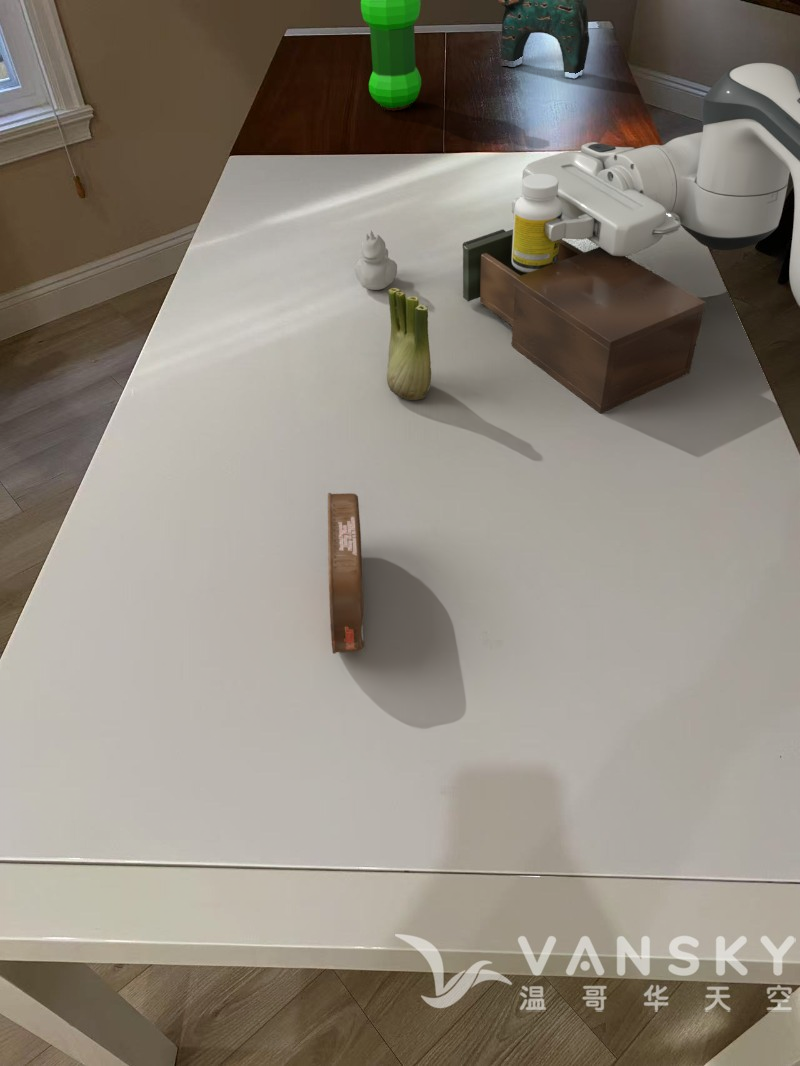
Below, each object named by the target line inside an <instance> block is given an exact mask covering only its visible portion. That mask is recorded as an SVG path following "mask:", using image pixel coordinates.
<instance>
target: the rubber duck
mask: <svg viewBox="0 0 800 1066" xmlns="http://www.w3.org/2000/svg"><path fill="white" fill-rule="evenodd" d="M376 235H377V236H375V234H374V233H373V231H372V229H370V231H369V234H368V233H366V234H365V237H364V239H363V241H362V243H361V246H360V247H361V257H360V258H359V259H358V260H357V261H356V263H355V265H354V272H355V276H356V278H357V280H358V281H359V284H360V286H361V287H363V288H365V289H368V290H372V291H379V290H383V289H386V288H387V287H388V286H389V285H390V284H392V283H393V281H394V280H395V279H396V277H397V274H398V264H397V262H396V261H395V260H394V259H391V258H390V257H389V250H388V248H387V245H386V242H385V240H384V239H383V238H382V237H381V236H380V235H379V234H376Z"/></svg>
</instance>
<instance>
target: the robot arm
mask: <svg viewBox="0 0 800 1066" xmlns="http://www.w3.org/2000/svg"><path fill="white" fill-rule="evenodd" d="M701 124H702V126H703V127H702V131H700V132H695V133H689V134H686V135H681V136H678V137H674V138H672V139H670V140H669V141H668V142H666V143H665V144H661V145H660V144H651V145H650V144H649V145H645V146H642V147H638V148H635V147H631V146H626V147H625V146H624V147H621V146H614V145H609V144H605V143H600V142H597V141H592V142H587V143H584V144H582V145H581V147H580V151H575V150H571V151H564V152H560V153H556V154H553V155H550V156H547V157H546V156H545V157H543V158H540V159H537V160H534V161H532V162H530V163H528V164H527V165H526V166H525V167H524V168H523V170H522V177H521V178H522V179H521V181H522V180H523V179H524V178H525V177H527V176H529V175H533V174H548V175H552V176H554V177H556V178H557V179H558V181H559V184H558V193H557V196H556V197H557V198H559V199H560V201H561V203H562V219H561V220H560V219H559V218H556V219H553V220H550V221H547V222H546V223H545V225H544V229H545V231H544V235H545V236H546V237H547V238H549V239H550V240H551V241H557V240H560V239H562V240H564V239H565V240H586V239H587V240H588V241H590V242H591V243H593V244H594V245H596V246H597V247H600V248H602V249H603V250H605V251H606V252H608V253H609V254H611V255H613V256H625V257H628V256H630V255H633V254H635V253H638V252H641V251H644V250H645V249H648V248H649V247H652V246H654V245H656V244H657V243H659V242H660V241H661V240H662V238H663V236H667V235H670V234H673V233H676V232H677V231H679V229H680V228H681V227H682V228H683V230H684V231H686V232H687V234H689V235H690V236H691V237H693V238H694V239H695V240H696V241H697V242H698V243H700V244H701V245H702V246H704V247H707V248H710V249H713V250H717V251H733V250H739V249H743V248H747V247H750V246H753V245H754V244H757V243H759V242H761V241H762V240H765V239H766V238H768V237H769V236H770V235H771V234H773V233H774V232H775V231H776V230H777V229H778V228H779V224H780V220H781V219H782V218H781V217H782V213H783V210H784V209H783V208H784V205H785V201H786V195H787V189H788V185H789V179H790V175H791V178H792V184H793V193H794V207H793V208H794V209H793V211H794V212H793V226H792V227H793V228H792V237H791V239H792V240H791V247H790V258H789V271H788V272H789V273H788V274H789V275H788V276H789V277H788V278H789V285H790V290H791V293H792V295H793V298H794V299H795V302H796V304H797V305H798V307H799V308H800V76H799V74H797V73H796V72H795V71H794V70H793V69H790V68H789V67H786V66H784V65H781V64H780V65H779V64H775V63H770V62H753V63H744V64H740V65H737V66H734V67H732V68H730V69H729V70H727V72H725V73H724V74H723V75H722V76H721V77H720V78H719V79H718V80H717V81H716V82H715V83H714V84H713V86H712V87H711V88H710V89H709V90H708V91H707V93H705V95H704V97H703V107H702V123H701ZM519 198H520V197H517V198H514V199H513V200H512V201H511V214H513V215H514V207H515V203H516V201H517V200H518V199H519Z"/></svg>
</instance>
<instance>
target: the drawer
mask: <svg viewBox="0 0 800 1066" xmlns="http://www.w3.org/2000/svg"><path fill="white" fill-rule="evenodd" d="M512 242H513V228H511V229H509V230H507V231H506V230H505V229H500V230H496V231H494V232H490V233H488V234H485V235H482V236H478V237H476V238H473V239H470V240H467V241H464V242H463V243H462V298H463V299H464V300H465V301H467V302H471V301H473V300H477V299H479V303H481V304H482V305H483V306H485V307H486V308H487V309H489V310H490V311H492V312H493V313H495V315H497V316H498V317H500V318H501V319H503V320H504V321H505V322H507V323H508V324H509V325H511V326H512V327H513V310H514V289H515V278H516V277H519V276H521V275H524V274H527V273H525V272H522V271H519V270H518V269H516V268H515V267H514V266H513V264H512ZM584 252H585V251H583V250H581V249H579V248H578V247H577V246H574V245H573V244H572V243H569V242H568V241H566V240H564V239H560V241H559V252H558V261H557V262H560V261H562V260H565V259H568V258H571V257H573V256H576V255H579V254H582V253H584Z"/></svg>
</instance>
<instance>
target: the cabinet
mask: <svg viewBox="0 0 800 1066" xmlns="http://www.w3.org/2000/svg"><path fill="white" fill-rule="evenodd" d="M583 252H584V253H582V254H579V255H576V256H573V257H571V258H568V259H565V260H562V261H560V262H557V263H554V264H552V265H549V266H546V267H543V268H541V269H538V270H535V271H532V272H530V273H527V274H524V275H521V276H519V277H516V278H515V289H514V310H513V326H512V331H511V332H512V333H511V347H512V348H513V349H515V350H516V351H517V352H519V353H520V354H521V355H523V356H524V357H525V358H527V359H528V360H529V361H530V362H532V363H533V364H534V365H536V366H537V367H538V368H540V369H541V370H542V371H544V373H546V374H548V375H549V376H550V377H552V378H553V379H554V380H556V382H558V383H559V384H561V385H562V386H563V387H564V388H566V389H567V390H568V391H570V392H571V393H572V394H573V395H575V396H577V397H578V398H579V399H580V400H582V401H583V402H584V403H586V404H587V405H588V406H590V408H592V409H593V410H595V411H596V412H597V413H599V414H602V413H604V412H606V411H609V410H611V409H613V408H616V407H618V406H619V405H622V404H625V403H627V402H629V401H631V400H633V399H636V398H637V397H640V396H642V395H645V394H646V393H649V392H651V391H653V390H656V389H658V388H660V387H662V386H664V385H666V384H668V383H672V382H674V381H675V380H678V379H680V378H682V377H685V376H687V375H689V374H690V373H691V368H692V364H693V360H694V356H695V352H696V348H697V344H698V338H699V334H700V329H701V326H702V323H703V322H702V321H703V317H704V312H705V309H706V306H707V305H706V304H707V302H706V301H705V300H703V299H701V298H699V297H698V296H696V295H694V294H692V293H691V292H689V291H687V290H685V289H684V288H682V287H680V286H678V285H676V284H674V283H673V282H672V281H669V280H667V279H666V278H664V277H662V276H661V275H658V274H657V273H655V272H654V271H651V270H650V269H649V268H647V267H645V266H643V265H641V264H640V263H638V262H636V261H634V260H632V259H631V258H628V256H613V255H611V254H609V253H608V252H606V251H605V250H603V249H602V248H600V247H599V246H597V247H595V248H592V249H589V250H587V251H583Z"/></svg>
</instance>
